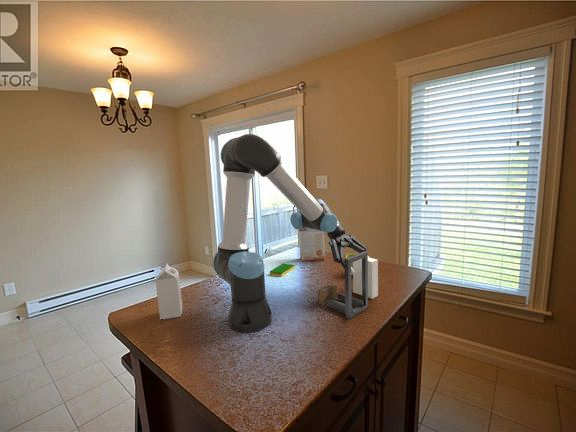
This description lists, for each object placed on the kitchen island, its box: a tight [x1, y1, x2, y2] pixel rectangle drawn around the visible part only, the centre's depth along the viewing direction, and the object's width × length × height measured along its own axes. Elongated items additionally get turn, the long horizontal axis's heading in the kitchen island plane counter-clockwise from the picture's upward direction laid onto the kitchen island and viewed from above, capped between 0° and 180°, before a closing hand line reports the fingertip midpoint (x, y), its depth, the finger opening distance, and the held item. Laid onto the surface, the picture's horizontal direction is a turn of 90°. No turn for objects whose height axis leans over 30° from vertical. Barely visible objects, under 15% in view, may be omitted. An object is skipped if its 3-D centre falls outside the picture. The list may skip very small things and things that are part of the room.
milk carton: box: [154, 262, 184, 321], centre depth 104 cm, size 7×7×19 cm
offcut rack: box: [326, 251, 369, 320], centre depth 102 cm, size 12×12×21 cm
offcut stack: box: [317, 283, 338, 306], centre depth 110 cm, size 8×3×6 cm, turn 131°
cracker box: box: [298, 227, 326, 262], centre depth 163 cm, size 14×6×21 cm, turn 84°
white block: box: [352, 257, 379, 300], centre depth 114 cm, size 4×9×15 cm, turn 40°
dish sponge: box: [269, 263, 295, 278], centre depth 146 cm, size 7×14×2 cm, turn 150°
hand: (362, 270), depth 115 cm, fingers open, 13 cm apart
